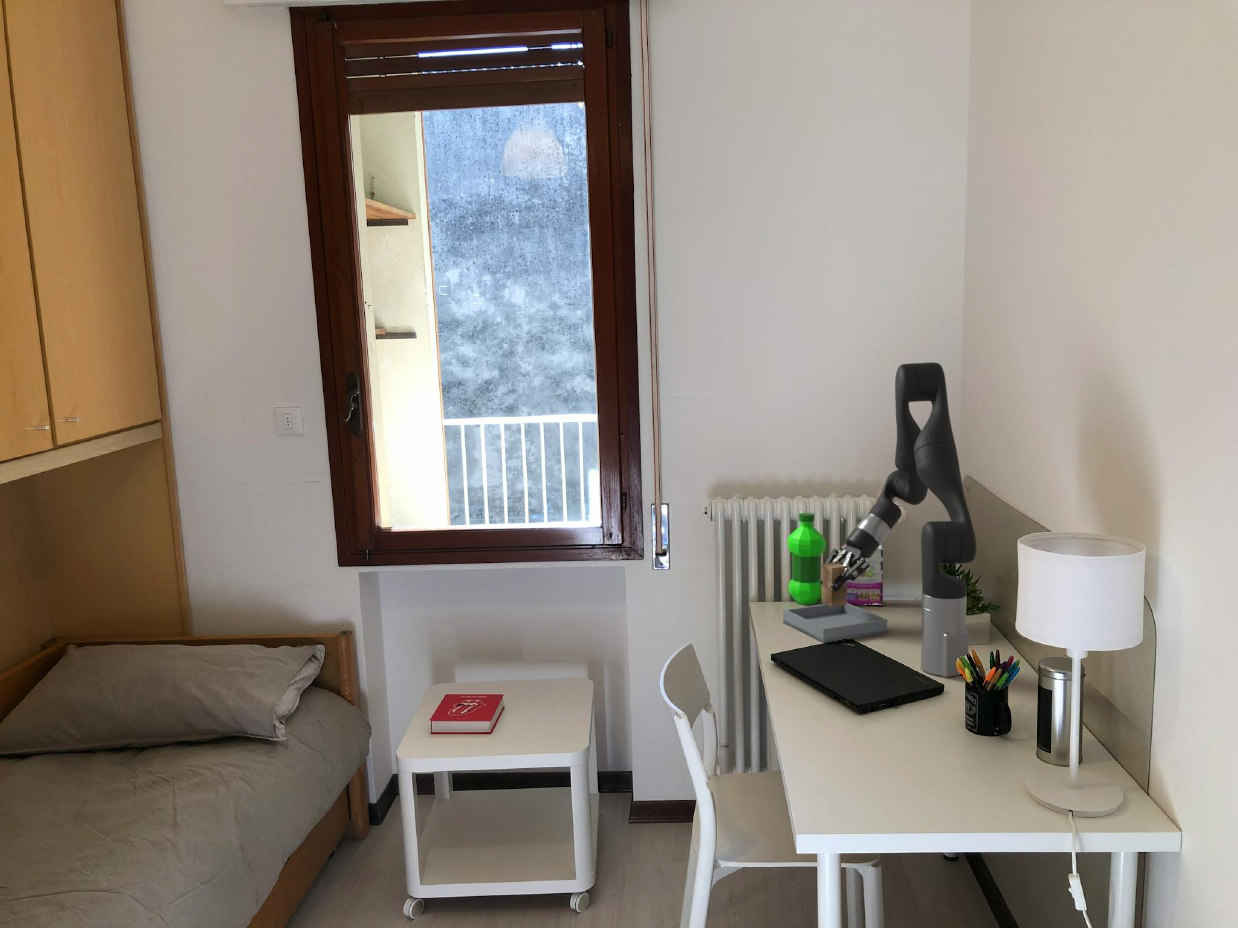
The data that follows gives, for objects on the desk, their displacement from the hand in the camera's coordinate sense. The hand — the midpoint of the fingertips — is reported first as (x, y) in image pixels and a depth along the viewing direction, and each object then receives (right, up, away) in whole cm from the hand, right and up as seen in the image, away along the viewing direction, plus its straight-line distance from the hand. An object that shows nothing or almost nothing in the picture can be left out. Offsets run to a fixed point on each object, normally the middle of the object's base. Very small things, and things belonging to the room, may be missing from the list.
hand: (827, 586), depth 238 cm
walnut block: (+2, -4, +1) cm, 5 cm away
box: (+2, -11, +2) cm, 11 cm away
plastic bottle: (0, -8, +27) cm, 28 cm away
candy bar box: (+15, -8, +24) cm, 29 cm away
